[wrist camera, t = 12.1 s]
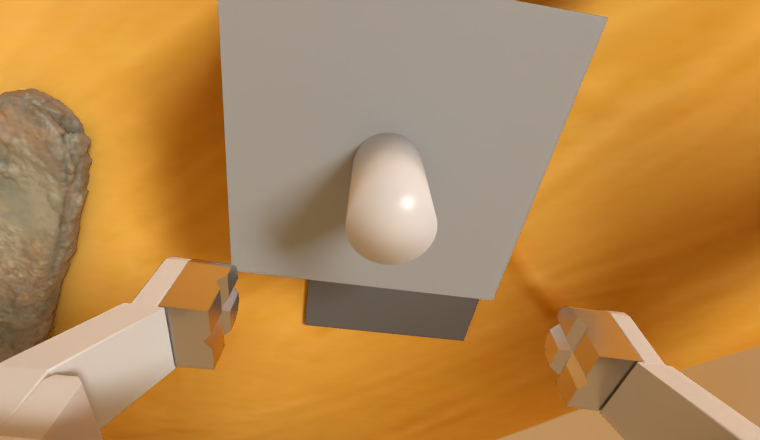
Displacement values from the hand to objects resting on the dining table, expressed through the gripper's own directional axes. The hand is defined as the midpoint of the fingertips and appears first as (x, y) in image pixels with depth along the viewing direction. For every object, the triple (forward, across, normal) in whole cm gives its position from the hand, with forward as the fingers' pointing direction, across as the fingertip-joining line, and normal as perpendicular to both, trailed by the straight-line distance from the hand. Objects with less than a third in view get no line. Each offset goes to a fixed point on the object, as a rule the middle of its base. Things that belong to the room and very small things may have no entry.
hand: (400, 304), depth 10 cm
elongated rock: (+21, +30, +20) cm, 41 cm away
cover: (+21, 0, 0) cm, 21 cm away
